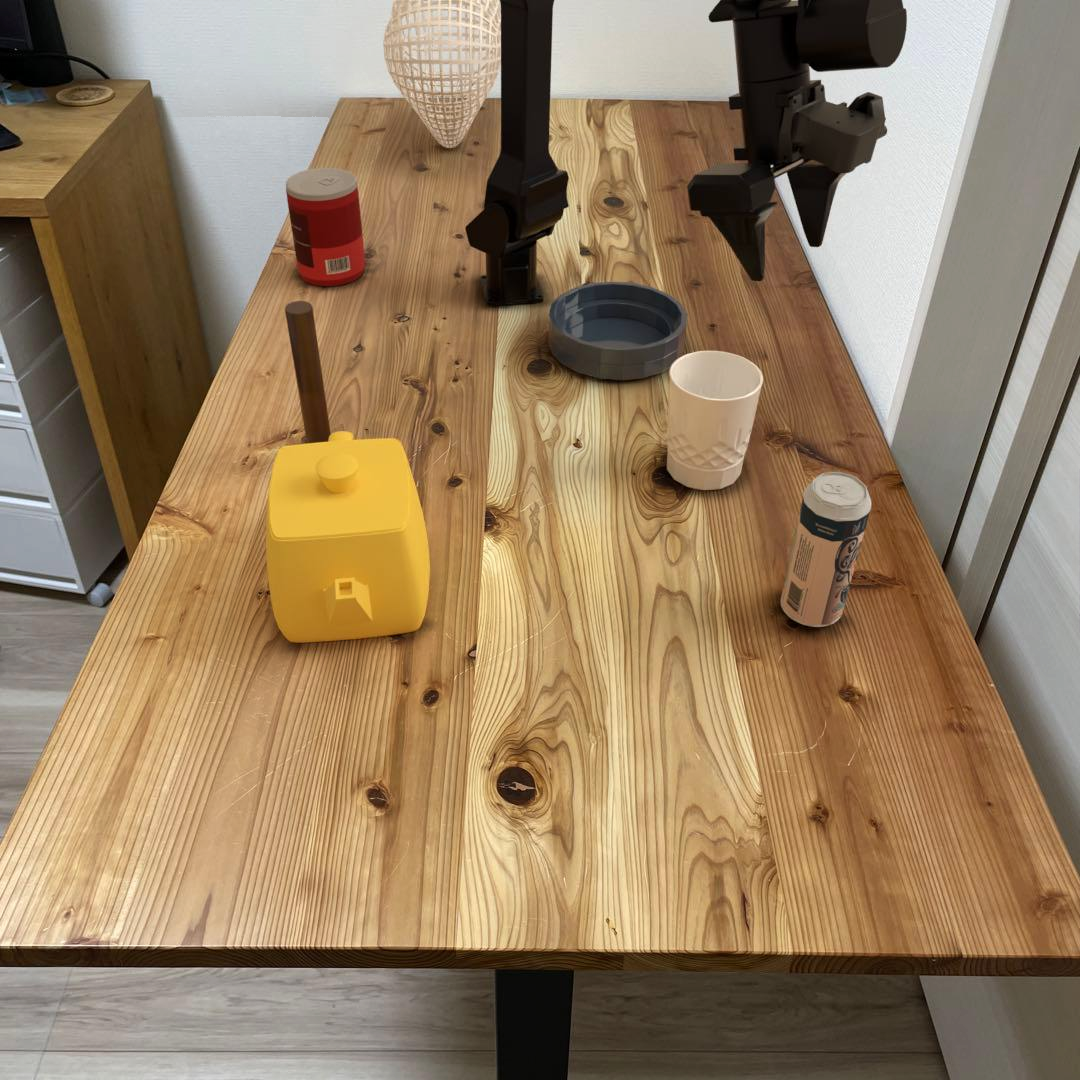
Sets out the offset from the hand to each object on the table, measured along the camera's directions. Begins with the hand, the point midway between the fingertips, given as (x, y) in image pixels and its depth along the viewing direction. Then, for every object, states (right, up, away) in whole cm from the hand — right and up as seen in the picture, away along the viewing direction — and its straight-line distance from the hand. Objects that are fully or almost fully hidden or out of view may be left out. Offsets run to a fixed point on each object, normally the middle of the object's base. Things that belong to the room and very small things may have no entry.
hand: (787, 263), depth 94 cm
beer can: (-1, -30, -11) cm, 32 cm away
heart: (-35, +33, +61) cm, 78 cm away
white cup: (-7, -18, +3) cm, 20 cm away
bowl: (-14, -4, +19) cm, 24 cm away
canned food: (-46, +7, +31) cm, 56 cm away
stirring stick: (-42, -18, +2) cm, 45 cm away
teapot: (-37, -29, -10) cm, 48 cm away
